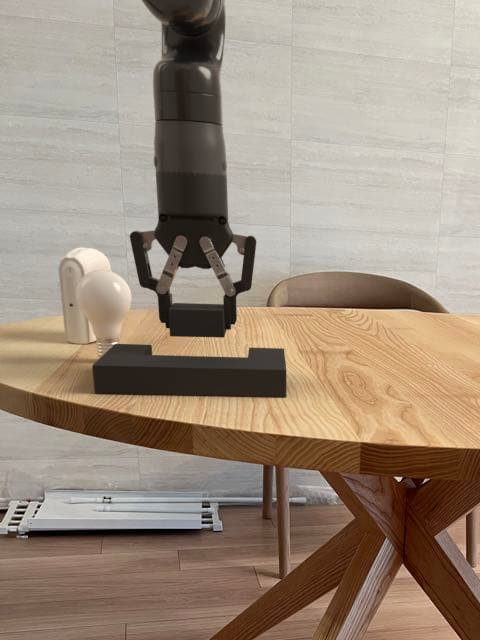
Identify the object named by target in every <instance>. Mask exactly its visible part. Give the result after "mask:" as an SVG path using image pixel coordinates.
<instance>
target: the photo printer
mask: <svg viewBox="0 0 480 640" xmlns="http://www.w3.org/2000/svg"><path fill="white" fill-rule="evenodd" d="M99 269H103V270H109V271H112V267H111V263H110V260H109V258H108V257H107V256H106V255H105V254H104V253H103V252H101V251H100V250H98V249H96V248H92V247H84V246H83V247H76V248H73V249H72V250H69V252H66V254H65V255H63V257H62V258H61V260H60V262H59V263H58V278H59V289H60V290H59V291H60V298H61V299H60V300H61V308H62V309H61V310H62V318H63V329H64V338H65V340H66V341H67V342H69V343H70V344H76V345H88V344H90V343H93V342H97V341H96V336H95V335H94V333H93V330H92V326H91V323H90V322H89V320H88V319H87V317H86V316H85V315H84V313H83V312H82V310H81V309H80V307H79V305H78V302H77V297H76V290H77V286H78V283H79V282H80V280H81V279H82V277H83V276H84V275H86V274H87V273H89V272H91V271H94V270H99Z"/></svg>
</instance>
